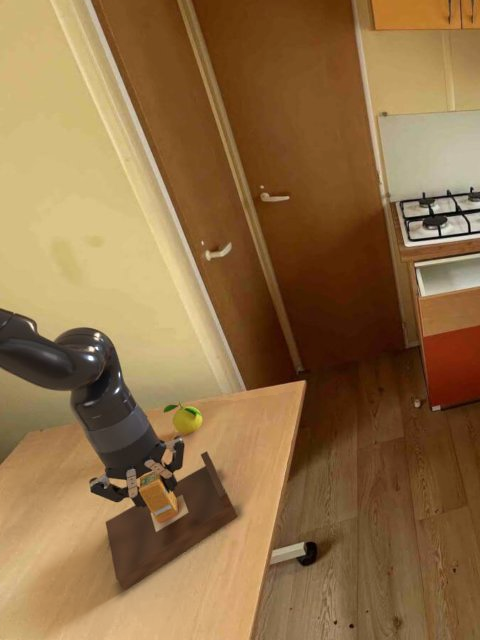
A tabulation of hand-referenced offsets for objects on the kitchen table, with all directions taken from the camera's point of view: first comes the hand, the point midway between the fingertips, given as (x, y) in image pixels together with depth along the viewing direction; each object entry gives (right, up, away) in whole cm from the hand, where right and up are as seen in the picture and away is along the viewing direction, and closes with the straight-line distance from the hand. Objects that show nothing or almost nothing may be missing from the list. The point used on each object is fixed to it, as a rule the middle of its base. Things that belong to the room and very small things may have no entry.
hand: (158, 495), depth 80 cm
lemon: (-13, +2, +25) cm, 28 cm away
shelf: (0, -9, +4) cm, 10 cm away
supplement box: (0, -5, +3) cm, 6 cm away
